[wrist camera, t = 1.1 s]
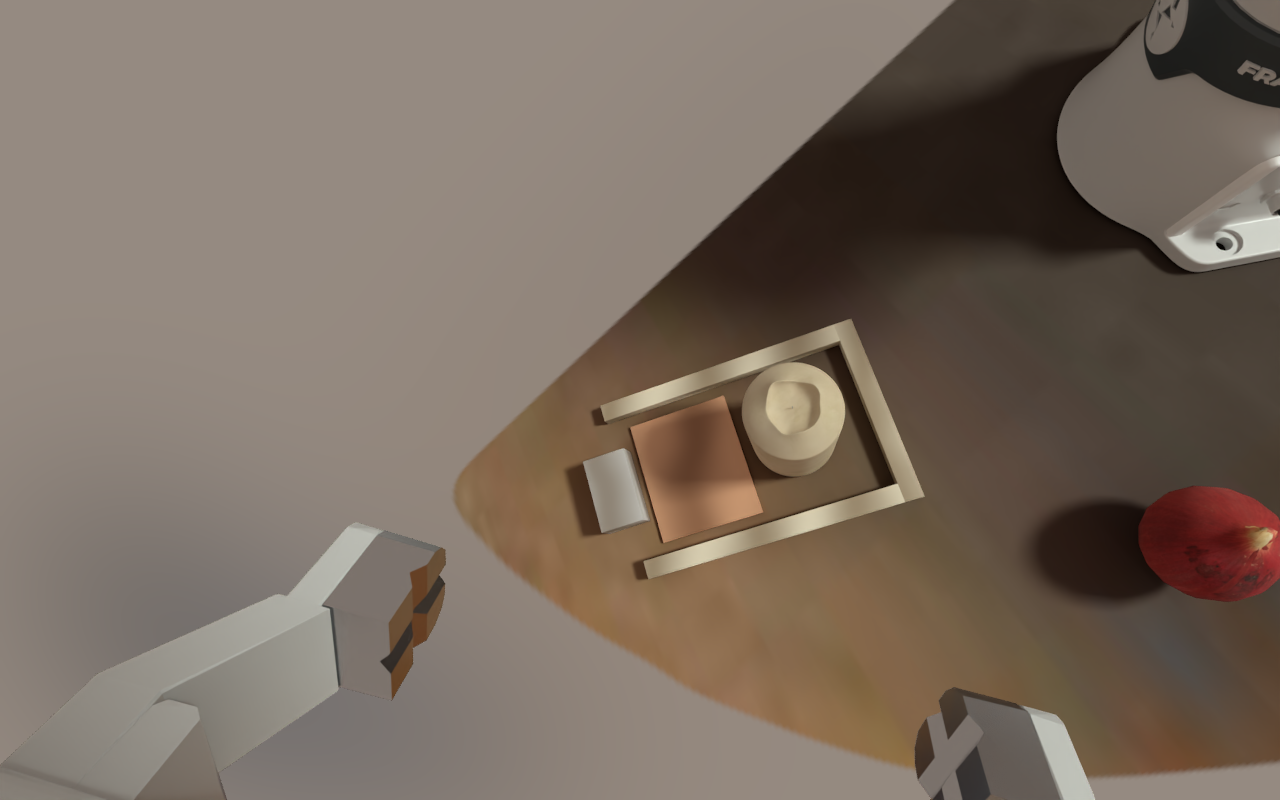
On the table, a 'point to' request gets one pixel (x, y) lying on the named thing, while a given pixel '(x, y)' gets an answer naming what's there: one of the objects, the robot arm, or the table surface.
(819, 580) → the table surface
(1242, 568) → the onion
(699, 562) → the beige frame
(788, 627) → the table surface
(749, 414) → the candle
